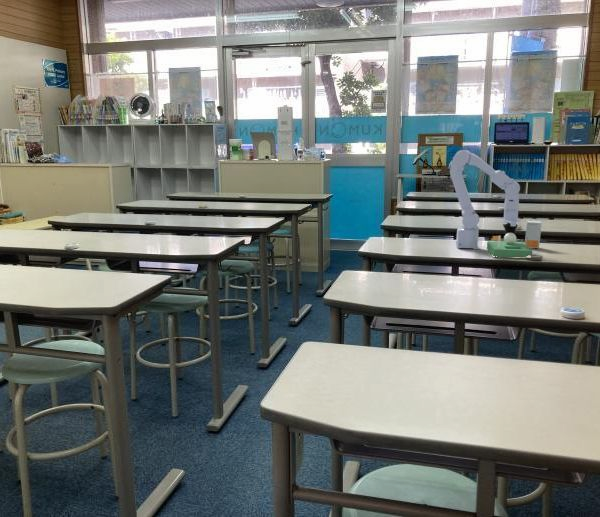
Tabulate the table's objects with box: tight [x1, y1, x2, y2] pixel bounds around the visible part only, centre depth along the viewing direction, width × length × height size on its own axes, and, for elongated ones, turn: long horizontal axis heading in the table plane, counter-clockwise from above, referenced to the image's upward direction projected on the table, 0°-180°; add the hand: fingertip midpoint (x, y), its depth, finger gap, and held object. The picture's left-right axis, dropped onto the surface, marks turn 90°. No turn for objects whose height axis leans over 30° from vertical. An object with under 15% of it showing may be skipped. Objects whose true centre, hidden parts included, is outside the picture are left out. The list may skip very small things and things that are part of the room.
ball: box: [503, 233, 517, 244], centre depth 235 cm, size 5×5×5 cm
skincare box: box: [524, 220, 543, 249], centre depth 244 cm, size 6×4×12 cm
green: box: [486, 235, 533, 257], centre depth 231 cm, size 16×20×9 cm
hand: (509, 240), depth 238 cm, fingers closed
